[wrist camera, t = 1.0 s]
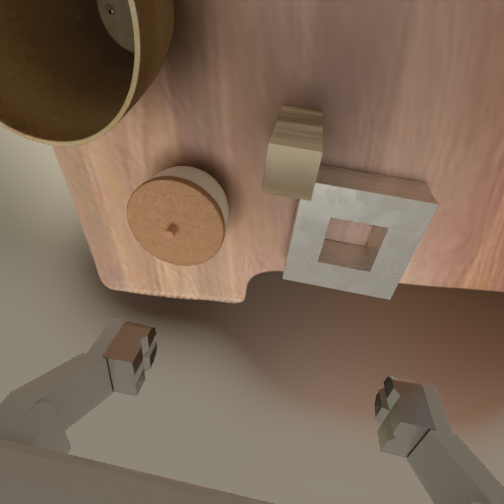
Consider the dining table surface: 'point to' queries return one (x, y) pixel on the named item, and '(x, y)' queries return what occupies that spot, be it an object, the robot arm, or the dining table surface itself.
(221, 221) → the lidded jar
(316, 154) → the ash peg
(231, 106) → the dining table surface
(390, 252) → the socket block
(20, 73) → the plant pot
